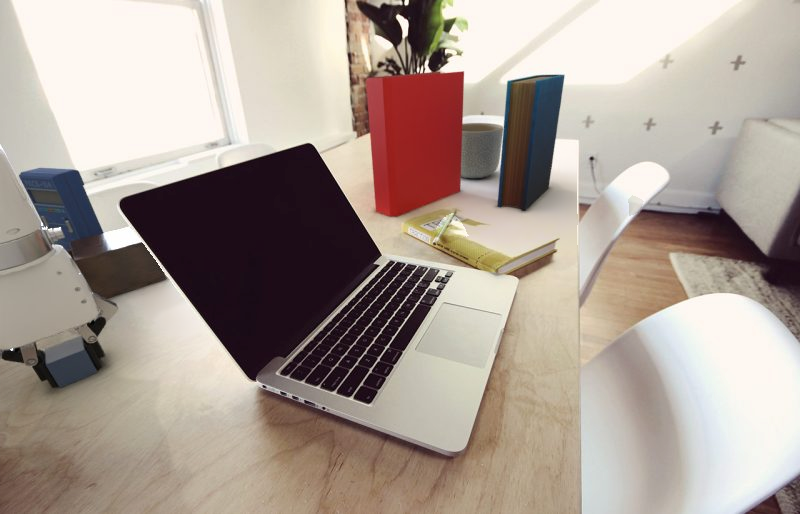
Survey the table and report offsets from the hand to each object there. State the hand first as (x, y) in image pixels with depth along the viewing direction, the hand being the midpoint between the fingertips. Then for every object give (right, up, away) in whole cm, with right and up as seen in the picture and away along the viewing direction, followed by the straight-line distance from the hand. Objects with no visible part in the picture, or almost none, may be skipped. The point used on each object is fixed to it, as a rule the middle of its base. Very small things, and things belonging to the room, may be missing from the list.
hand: (76, 370), depth 51 cm
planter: (+68, +43, +77) cm, 111 cm away
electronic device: (-20, +13, +28) cm, 37 cm away
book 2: (+78, +32, +56) cm, 102 cm away
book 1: (+49, +31, +56) cm, 81 cm away
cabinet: (-9, +11, +22) cm, 26 cm away
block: (0, 0, 0) cm, 0 cm away
